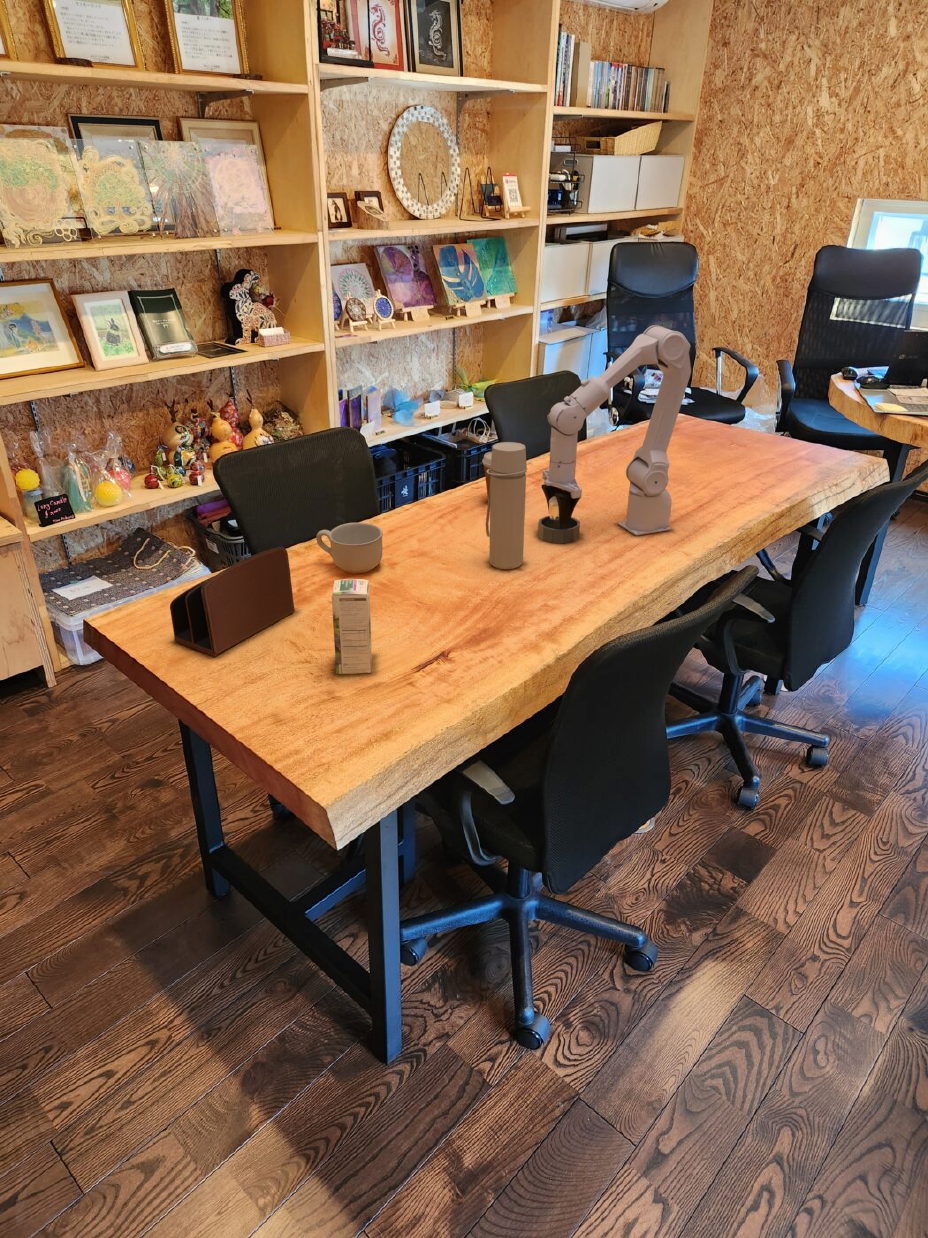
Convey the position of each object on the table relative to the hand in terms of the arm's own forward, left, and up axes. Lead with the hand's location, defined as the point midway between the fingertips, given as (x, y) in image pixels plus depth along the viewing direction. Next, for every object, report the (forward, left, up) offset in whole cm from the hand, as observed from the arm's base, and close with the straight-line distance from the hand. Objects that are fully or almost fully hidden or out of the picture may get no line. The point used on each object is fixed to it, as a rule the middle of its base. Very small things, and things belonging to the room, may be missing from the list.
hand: (559, 519), depth 185 cm
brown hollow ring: (0, 0, -4) cm, 4 cm away
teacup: (+48, -1, -4) cm, 48 cm away
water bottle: (+18, +9, -4) cm, 21 cm away
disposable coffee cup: (+3, -25, -4) cm, 26 cm away
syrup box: (+58, +38, -4) cm, 69 cm away
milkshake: (0, 0, -4) cm, 4 cm away
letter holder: (+74, +17, -4) cm, 76 cm away
